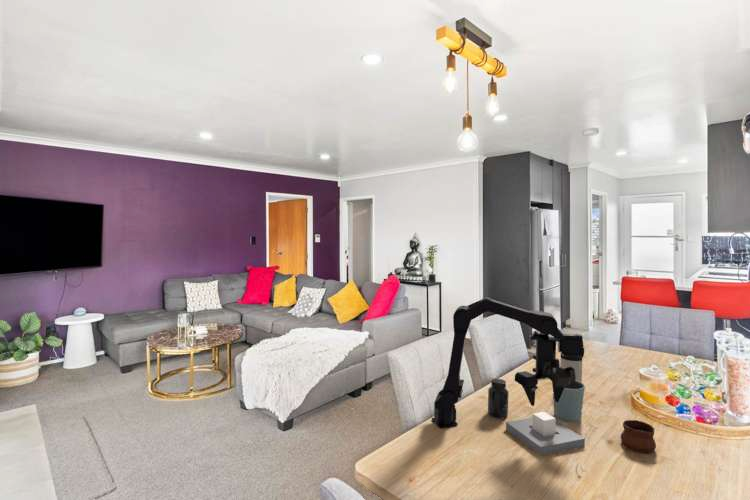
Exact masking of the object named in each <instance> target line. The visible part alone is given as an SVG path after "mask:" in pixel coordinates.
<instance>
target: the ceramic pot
mask: <svg viewBox="0 0 750 500" xmlns="http://www.w3.org/2000/svg"><path fill="white" fill-rule="evenodd" d="M622 426H623V430H622V432H621V434H620V440H621V445H622V446H623V447H624V448H626V449H627V450H629V451H631V452H634V453H638V454H652V453H653V452H654V451H655V450H656V447H657V445H656V440H655V439H654V435H655V428H654V427H653V426H652V425H651V424H649V423H647V422H645V421H643V420H637V419H627V420H624V421H623V422H622ZM637 461H638V462H641V463H648V464H652V465H653V464H657V463H654V462H653V463H651V462H649V461H645V460H638V459H637Z"/></svg>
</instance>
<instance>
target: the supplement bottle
mask: <svg viewBox="0 0 750 500" xmlns="http://www.w3.org/2000/svg"><path fill="white" fill-rule="evenodd" d="M490 382H491V384H490V385H491V386H490V387H489V388H488V391H487V392H488V393H487V413H488V415H489V416H490V417H493V418H496V419H505V418H507V417H508V414H509V391H508V389H507V384H506V383H507V382H506V380H504V379H502V378H493V379H491V381H490Z"/></svg>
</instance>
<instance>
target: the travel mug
mask: <svg viewBox="0 0 750 500" xmlns="http://www.w3.org/2000/svg"><path fill="white" fill-rule="evenodd" d="M559 364H560V366H561V367H565V368H567V367H572V368H573V369H575V375H576V377H575V380H576V381H579V382H581V383H583V358H581V357H570V356H562V354H561V353H560V359H559Z"/></svg>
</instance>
